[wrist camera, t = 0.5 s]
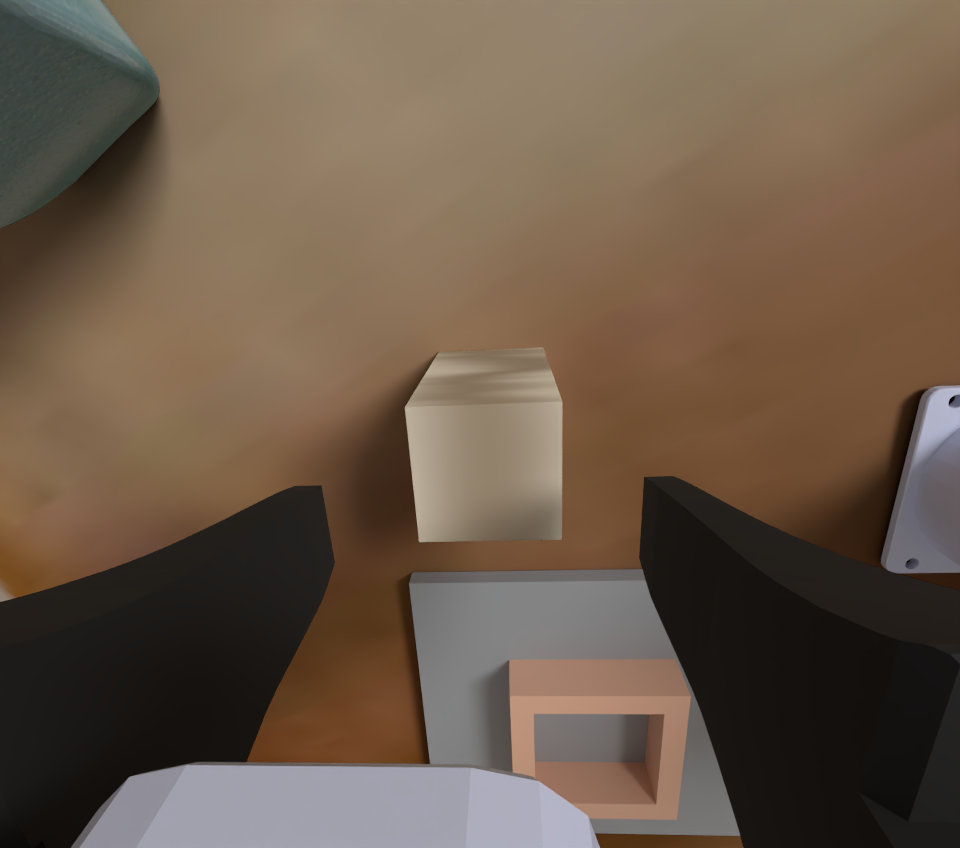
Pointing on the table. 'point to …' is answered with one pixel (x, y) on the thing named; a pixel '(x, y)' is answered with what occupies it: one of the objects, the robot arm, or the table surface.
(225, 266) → the table surface
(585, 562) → the table surface
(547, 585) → the holder
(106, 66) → the flower pot
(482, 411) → the peg
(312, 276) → the table surface
